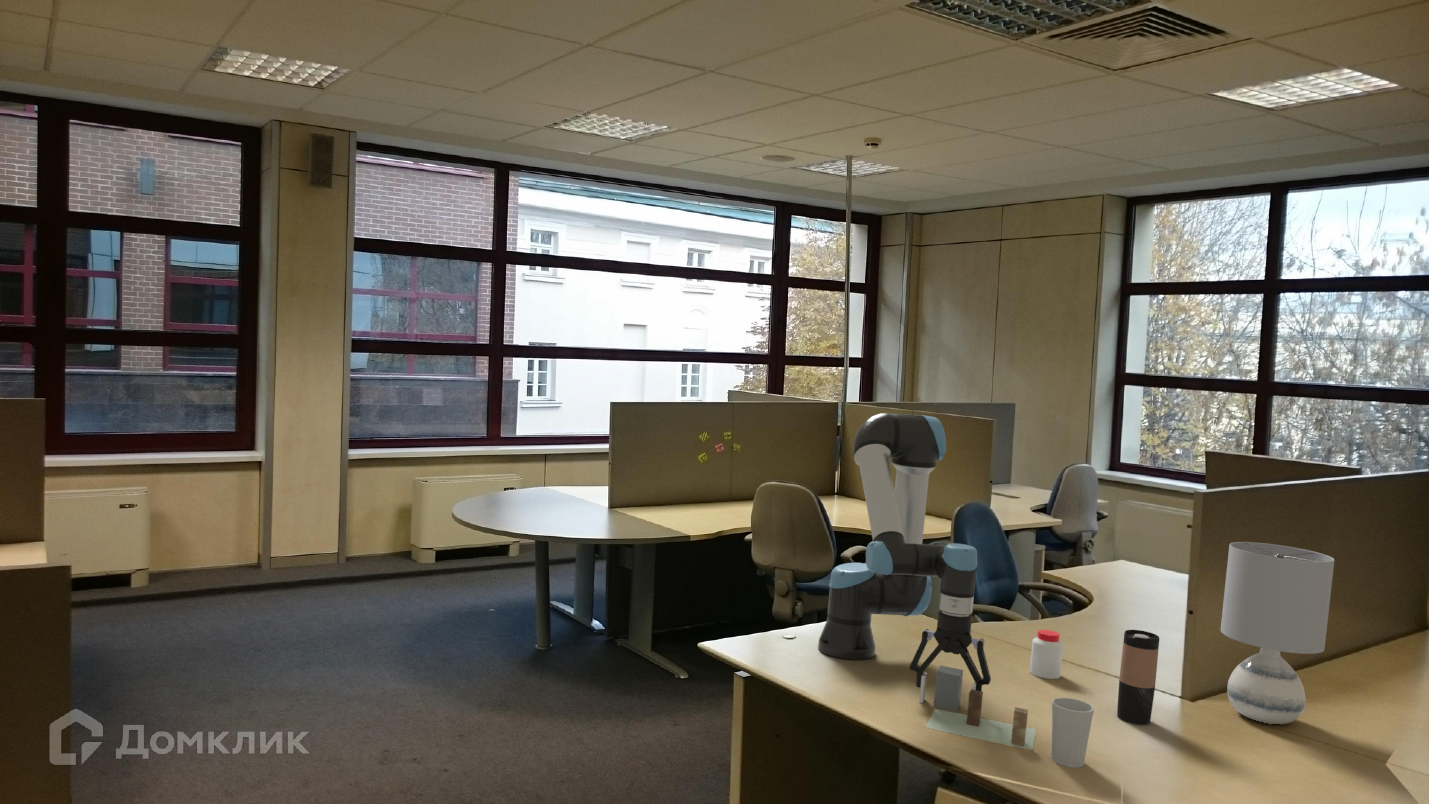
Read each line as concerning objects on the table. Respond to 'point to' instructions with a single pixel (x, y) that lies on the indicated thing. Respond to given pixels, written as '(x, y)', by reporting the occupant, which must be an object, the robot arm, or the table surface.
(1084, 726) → the cup
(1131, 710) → the travel mug
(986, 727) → the board
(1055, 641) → the pill bottle
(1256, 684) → the lamp
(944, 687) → the tall gray brick
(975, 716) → the walnut post
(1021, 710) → the oak post
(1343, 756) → the table surface
